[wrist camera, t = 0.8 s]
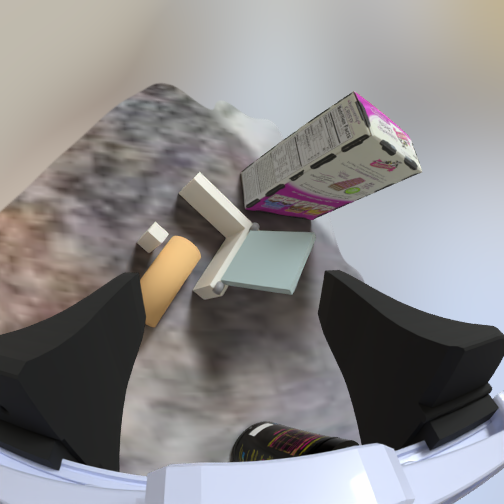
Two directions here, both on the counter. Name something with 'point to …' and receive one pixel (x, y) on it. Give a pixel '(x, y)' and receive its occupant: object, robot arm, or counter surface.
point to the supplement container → (283, 443)
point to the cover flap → (270, 261)
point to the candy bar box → (330, 162)
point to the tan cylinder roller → (167, 277)
